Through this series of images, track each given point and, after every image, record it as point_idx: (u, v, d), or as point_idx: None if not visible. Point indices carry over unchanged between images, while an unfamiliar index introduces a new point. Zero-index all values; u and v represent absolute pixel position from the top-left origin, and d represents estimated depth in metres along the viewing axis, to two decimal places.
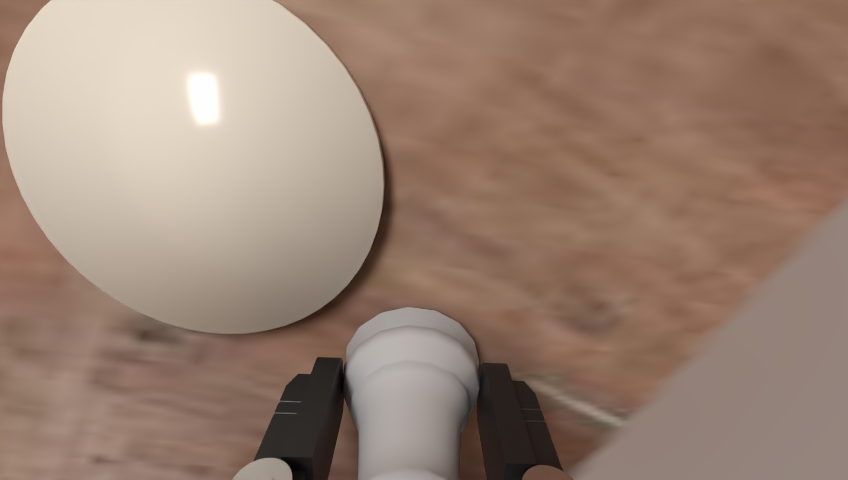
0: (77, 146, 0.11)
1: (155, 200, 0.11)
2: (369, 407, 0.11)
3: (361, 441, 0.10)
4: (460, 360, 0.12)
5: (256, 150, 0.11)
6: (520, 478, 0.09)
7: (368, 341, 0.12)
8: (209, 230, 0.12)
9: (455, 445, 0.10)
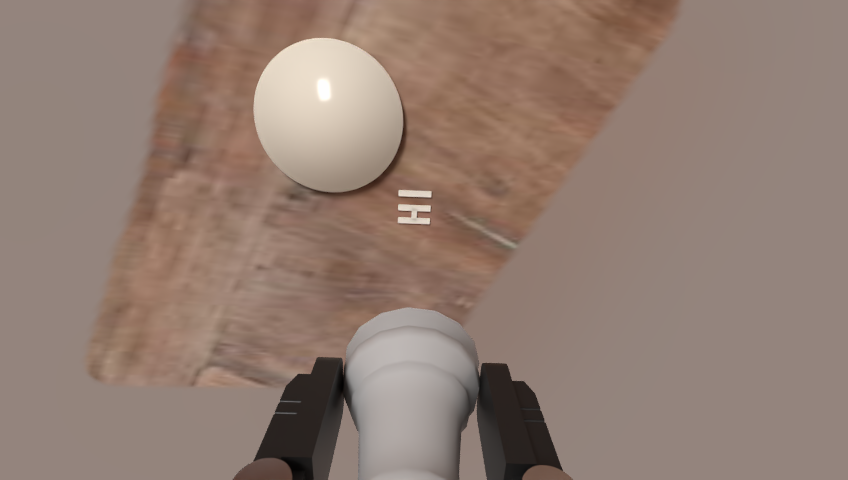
0: (281, 106, 0.27)
1: (309, 129, 0.28)
2: (369, 407, 0.11)
3: (361, 441, 0.10)
4: (459, 361, 0.12)
5: (352, 107, 0.27)
6: (520, 478, 0.09)
7: (368, 341, 0.12)
8: (330, 142, 0.28)
9: (455, 445, 0.10)
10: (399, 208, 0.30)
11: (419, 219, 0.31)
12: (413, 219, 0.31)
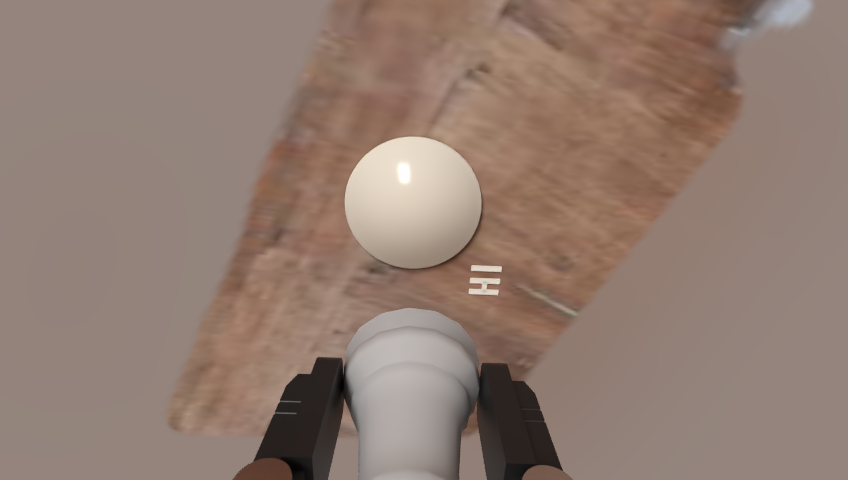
0: (371, 194, 0.29)
1: (395, 214, 0.30)
2: (369, 407, 0.11)
3: (361, 441, 0.10)
4: (460, 361, 0.12)
5: (436, 196, 0.30)
6: (520, 478, 0.09)
7: (368, 342, 0.12)
8: (413, 225, 0.30)
9: (455, 446, 0.10)
10: (471, 281, 0.33)
11: (488, 290, 0.33)
12: (483, 290, 0.33)
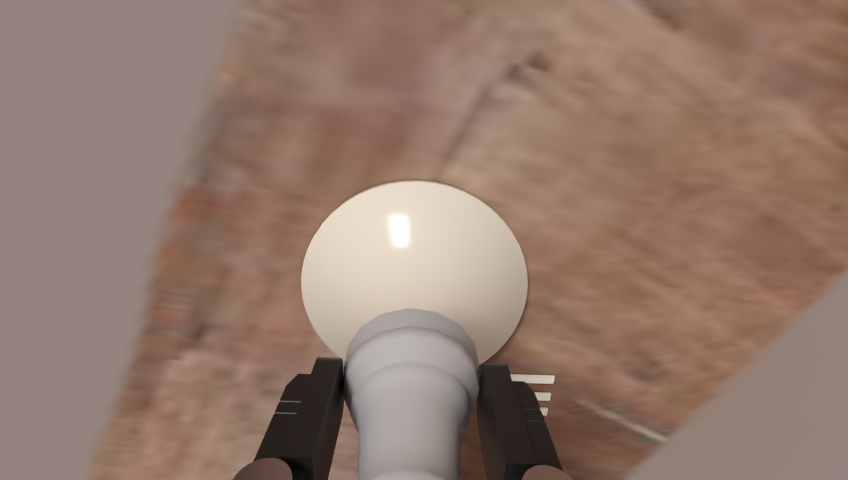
0: (344, 275, 0.18)
1: (385, 304, 0.18)
2: (369, 408, 0.11)
3: (361, 442, 0.10)
4: (460, 361, 0.12)
5: (452, 277, 0.18)
6: (520, 478, 0.09)
7: (368, 342, 0.12)
8: None
9: (455, 446, 0.10)
10: None
11: None
12: None
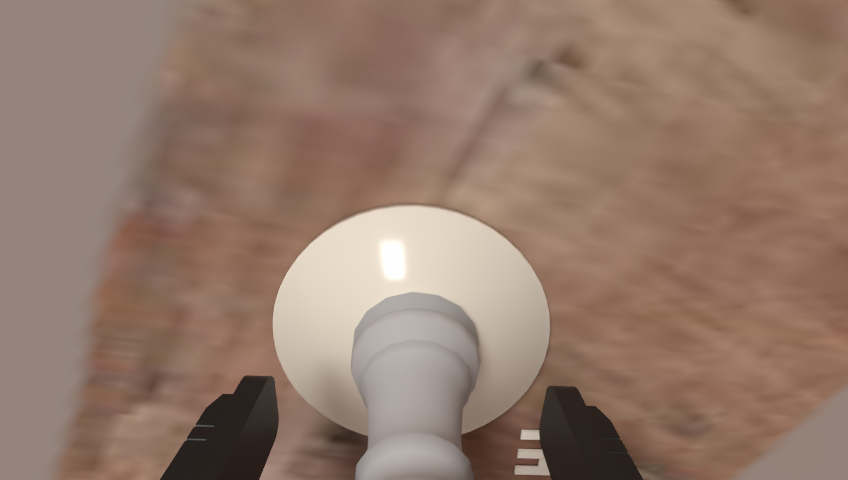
0: (325, 319, 0.14)
1: None
2: (377, 382, 0.11)
3: (370, 412, 0.11)
4: (461, 340, 0.13)
5: None
6: None
7: (375, 323, 0.13)
8: None
9: (457, 415, 0.11)
10: (519, 455, 0.18)
11: None
12: (541, 467, 0.18)
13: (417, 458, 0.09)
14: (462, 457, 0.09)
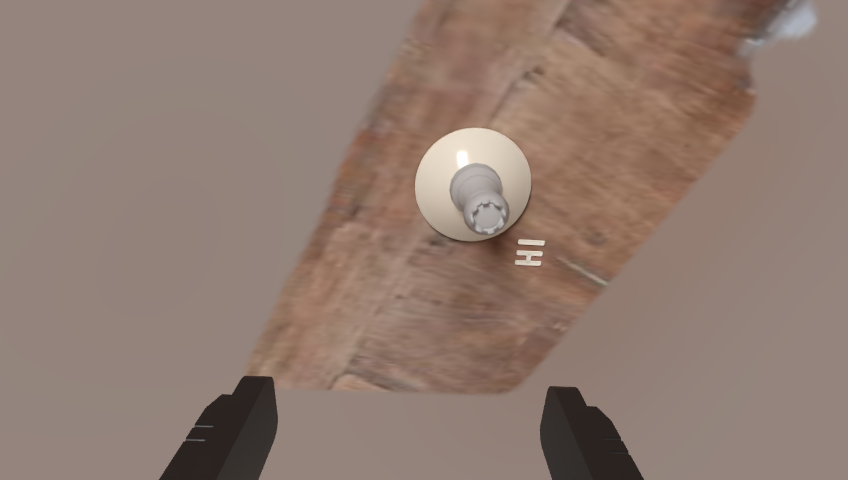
0: (437, 177, 0.35)
1: None
2: (466, 187, 0.32)
3: (465, 194, 0.31)
4: (495, 178, 0.33)
5: None
6: None
7: (462, 172, 0.33)
8: None
9: None
10: (517, 253, 0.38)
11: (532, 261, 0.38)
12: (527, 261, 0.38)
13: None
14: None
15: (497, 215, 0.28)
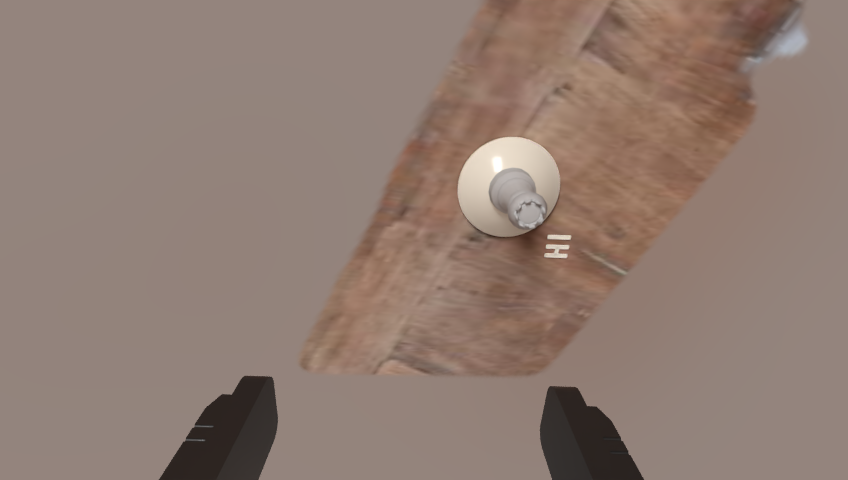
0: (478, 180, 0.40)
1: None
2: (506, 188, 0.36)
3: (506, 195, 0.36)
4: (530, 180, 0.38)
5: None
6: None
7: (501, 175, 0.38)
8: None
9: None
10: (546, 247, 0.43)
11: (560, 254, 0.43)
12: (555, 254, 0.43)
13: None
14: None
15: (537, 212, 0.33)
